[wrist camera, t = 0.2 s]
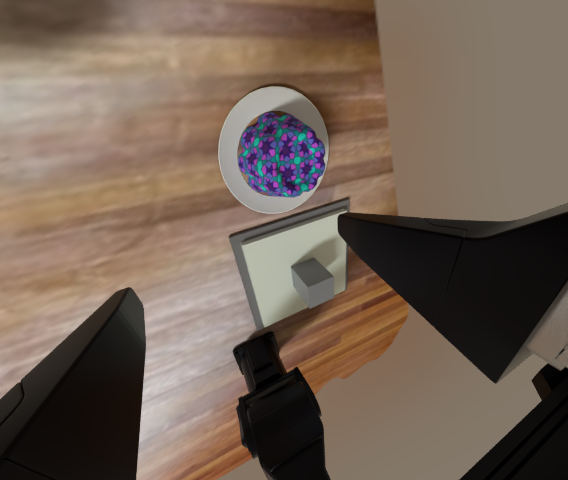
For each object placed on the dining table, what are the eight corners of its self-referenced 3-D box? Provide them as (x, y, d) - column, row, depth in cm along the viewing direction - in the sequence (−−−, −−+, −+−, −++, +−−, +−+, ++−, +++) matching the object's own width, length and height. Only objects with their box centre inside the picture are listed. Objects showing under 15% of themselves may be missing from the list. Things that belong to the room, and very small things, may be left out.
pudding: (200, 93, 18) (209, 83, 14) (324, 82, 22) (361, 72, 17) (232, 223, 24) (245, 244, 20) (325, 198, 28) (352, 211, 24)
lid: (342, 287, 36) (364, 308, 32) (262, 323, 32) (276, 354, 28) (342, 208, 29) (372, 223, 25) (240, 242, 25) (254, 267, 20)
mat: (345, 287, 37) (346, 289, 37) (256, 328, 32) (257, 330, 32) (347, 198, 29) (349, 199, 29) (228, 236, 24) (229, 237, 24)
